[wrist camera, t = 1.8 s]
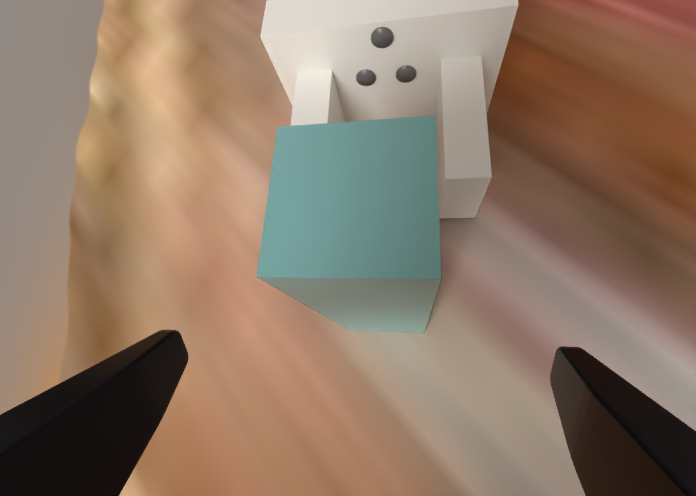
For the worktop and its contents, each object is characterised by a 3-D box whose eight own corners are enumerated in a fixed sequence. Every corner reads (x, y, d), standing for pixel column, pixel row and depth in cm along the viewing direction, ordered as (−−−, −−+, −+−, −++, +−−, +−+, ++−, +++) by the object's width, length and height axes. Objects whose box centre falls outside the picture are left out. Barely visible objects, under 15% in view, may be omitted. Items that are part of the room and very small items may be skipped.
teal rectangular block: (424, 332, 18) (441, 279, 7) (348, 329, 19) (256, 276, 8) (422, 234, 20) (434, 65, 9) (353, 235, 21) (283, 80, 10)
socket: (495, 217, 20) (537, 142, 13) (291, 221, 22) (238, 158, 15) (483, 75, 23) (512, -43, 16) (306, 91, 25) (268, -7, 18)
